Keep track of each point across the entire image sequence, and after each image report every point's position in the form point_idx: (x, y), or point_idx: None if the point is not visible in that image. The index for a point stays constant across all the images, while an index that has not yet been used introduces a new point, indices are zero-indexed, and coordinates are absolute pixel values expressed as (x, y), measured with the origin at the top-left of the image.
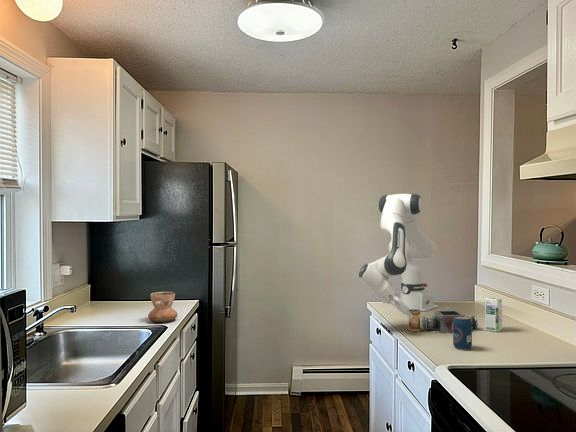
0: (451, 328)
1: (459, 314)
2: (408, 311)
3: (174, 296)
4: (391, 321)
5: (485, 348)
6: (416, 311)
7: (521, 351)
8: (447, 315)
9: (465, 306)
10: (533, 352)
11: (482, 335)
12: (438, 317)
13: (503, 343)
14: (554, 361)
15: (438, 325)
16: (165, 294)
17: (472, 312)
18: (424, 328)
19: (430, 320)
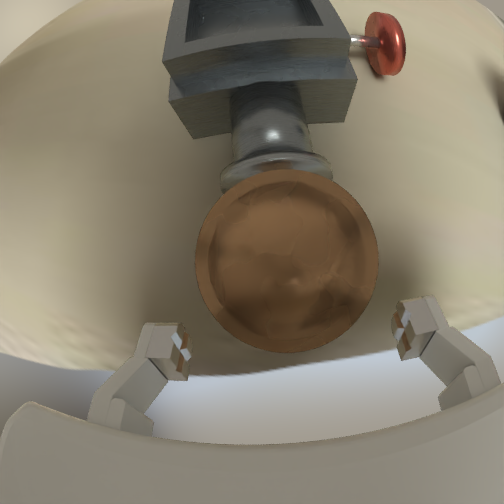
0: (398, 67)
1: None
2: (486, 364)
3: None
4: (79, 363)
5: (495, 73)
6: (357, 237)
7: (474, 23)
8: (332, 15)
9: (4, 75)
10: (467, 11)
11: (346, 8)
12: (261, 64)
13: (425, 10)
14: (500, 24)
15: (311, 102)
16: None
17: (46, 45)
18: None
19: (298, 128)
